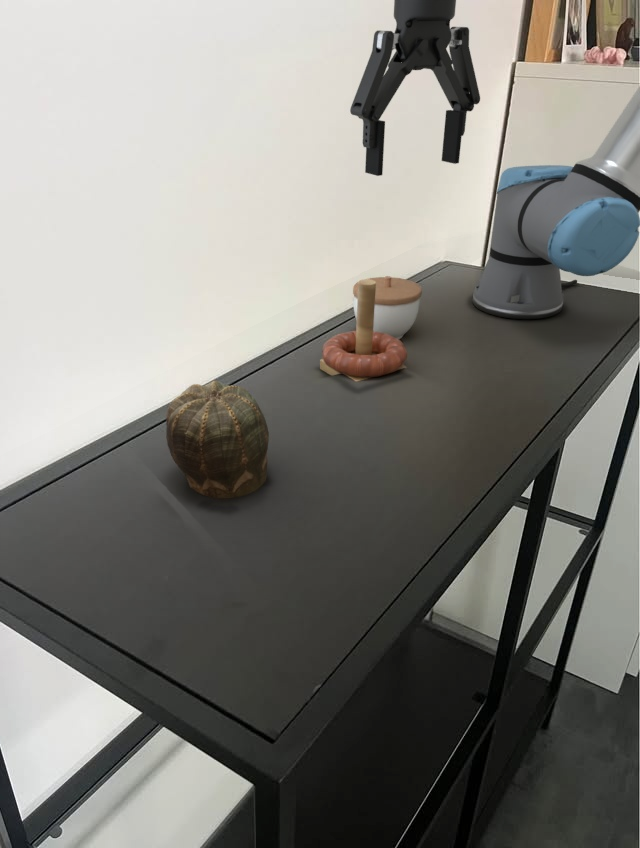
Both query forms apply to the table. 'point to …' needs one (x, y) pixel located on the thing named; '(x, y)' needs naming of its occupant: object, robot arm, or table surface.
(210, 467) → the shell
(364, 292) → the stand
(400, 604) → the table surface
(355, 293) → the trinket box
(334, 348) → the ring
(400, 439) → the table surface
